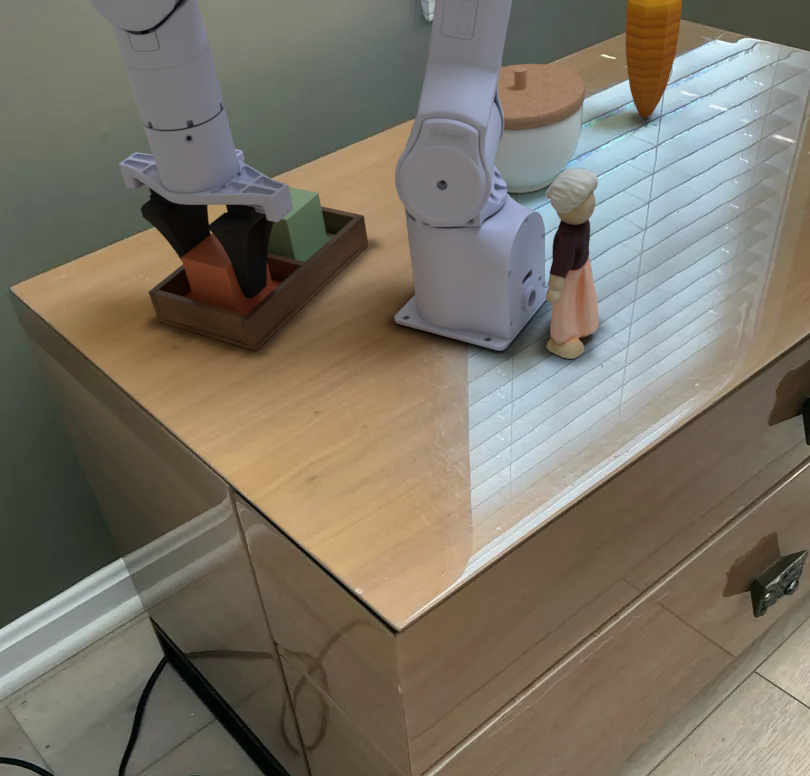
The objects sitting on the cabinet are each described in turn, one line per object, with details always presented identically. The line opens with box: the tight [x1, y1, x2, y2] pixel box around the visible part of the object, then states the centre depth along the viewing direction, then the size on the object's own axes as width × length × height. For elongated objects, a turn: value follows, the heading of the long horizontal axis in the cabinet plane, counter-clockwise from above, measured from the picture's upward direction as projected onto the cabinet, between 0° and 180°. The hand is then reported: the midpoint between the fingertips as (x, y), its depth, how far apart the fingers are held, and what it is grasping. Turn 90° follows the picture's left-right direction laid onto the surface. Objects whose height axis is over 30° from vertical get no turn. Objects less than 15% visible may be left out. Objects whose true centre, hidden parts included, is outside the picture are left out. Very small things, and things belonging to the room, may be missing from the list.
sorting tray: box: [148, 205, 369, 351], centre depth 78 cm, size 10×16×3 cm, turn 149°
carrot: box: [625, 0, 683, 120], centre depth 85 cm, size 5×5×15 cm
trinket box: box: [495, 63, 586, 194], centre depth 82 cm, size 11×11×9 cm
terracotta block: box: [180, 232, 274, 315], centre depth 74 cm, size 4×4×4 cm
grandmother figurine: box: [544, 167, 600, 360], centre depth 65 cm, size 8×4×13 cm, turn 168°
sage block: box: [268, 186, 328, 262], centre depth 78 cm, size 4×4×4 cm
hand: (231, 284), depth 75 cm, fingers closed on terracotta block, 4 cm apart
